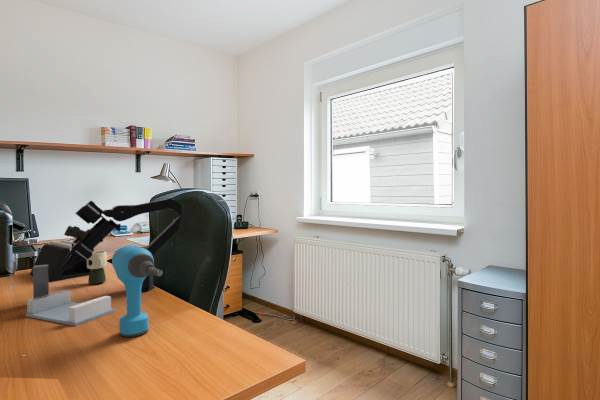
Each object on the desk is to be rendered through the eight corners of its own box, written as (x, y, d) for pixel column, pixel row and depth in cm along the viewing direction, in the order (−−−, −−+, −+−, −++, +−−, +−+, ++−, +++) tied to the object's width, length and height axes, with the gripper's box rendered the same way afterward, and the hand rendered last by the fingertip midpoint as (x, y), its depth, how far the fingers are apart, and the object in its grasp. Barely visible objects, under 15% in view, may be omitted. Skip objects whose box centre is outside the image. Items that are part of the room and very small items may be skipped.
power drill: (179, 350, 84) (178, 253, 84) (142, 362, 78) (141, 258, 78) (138, 319, 105) (137, 241, 104) (106, 327, 99) (105, 244, 98)
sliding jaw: (70, 302, 118) (70, 290, 118) (32, 313, 107) (32, 300, 107) (65, 301, 119) (65, 289, 119) (27, 312, 108) (27, 299, 108)
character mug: (84, 282, 147) (83, 251, 147) (102, 279, 152) (102, 249, 152) (90, 287, 140) (90, 255, 139) (110, 284, 145) (110, 252, 144)
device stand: (83, 267, 179) (82, 237, 179) (104, 273, 166) (103, 241, 166) (29, 275, 161) (29, 243, 161) (49, 283, 148) (48, 247, 147)
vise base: (114, 311, 112) (114, 296, 112) (75, 326, 100) (75, 309, 99) (67, 303, 120) (67, 289, 120) (25, 316, 108) (25, 300, 107)
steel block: (49, 301, 122) (48, 264, 122) (48, 304, 119) (47, 266, 118) (34, 303, 120) (34, 265, 120) (33, 306, 117) (32, 267, 116)
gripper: (79, 216, 133) (44, 247, 127) (80, 219, 117) (39, 255, 111) (103, 235, 137) (70, 266, 131) (107, 241, 121) (69, 276, 116)
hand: (62, 266), depth 122 cm, fingers open, 9 cm apart
